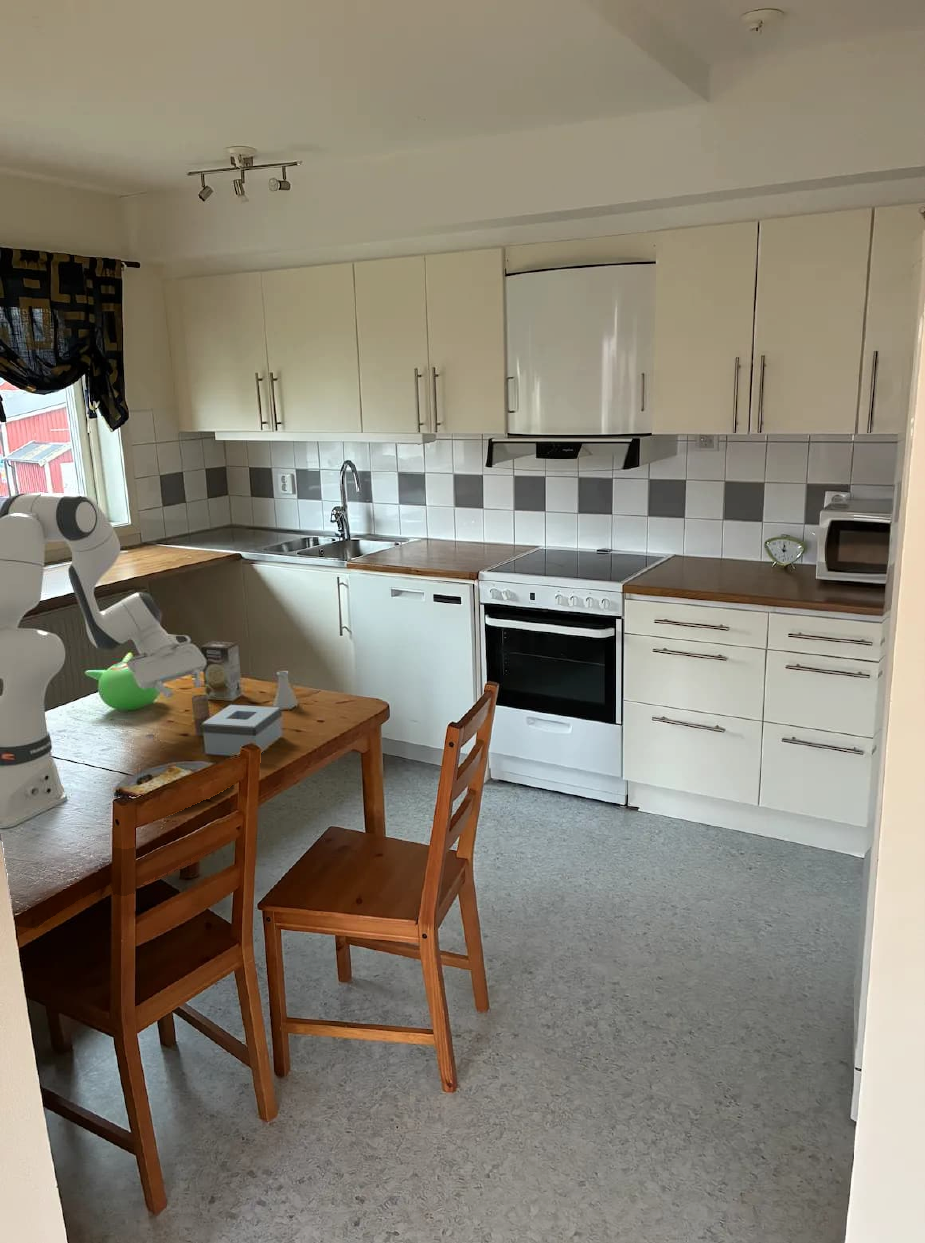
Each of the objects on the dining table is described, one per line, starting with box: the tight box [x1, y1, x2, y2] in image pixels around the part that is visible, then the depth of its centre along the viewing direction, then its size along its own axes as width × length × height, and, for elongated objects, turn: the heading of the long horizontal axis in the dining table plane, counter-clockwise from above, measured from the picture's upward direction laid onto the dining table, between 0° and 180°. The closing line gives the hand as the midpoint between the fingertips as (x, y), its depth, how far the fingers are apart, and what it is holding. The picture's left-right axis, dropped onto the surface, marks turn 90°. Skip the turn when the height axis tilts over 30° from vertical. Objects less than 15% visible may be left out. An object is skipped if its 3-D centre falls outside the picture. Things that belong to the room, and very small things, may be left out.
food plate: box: [113, 760, 216, 799], centre depth 212 cm, size 25×23×4 cm
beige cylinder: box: [191, 694, 211, 737], centre depth 246 cm, size 4×4×10 cm
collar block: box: [201, 704, 283, 757], centre depth 236 cm, size 14×14×8 cm
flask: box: [272, 670, 299, 711], centre depth 265 cm, size 7×7×10 cm
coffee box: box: [200, 640, 243, 702], centre depth 275 cm, size 9×6×16 cm
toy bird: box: [84, 652, 164, 711], centre depth 268 cm, size 18×17×15 cm
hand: (184, 690), depth 248 cm, fingers open, 8 cm apart
